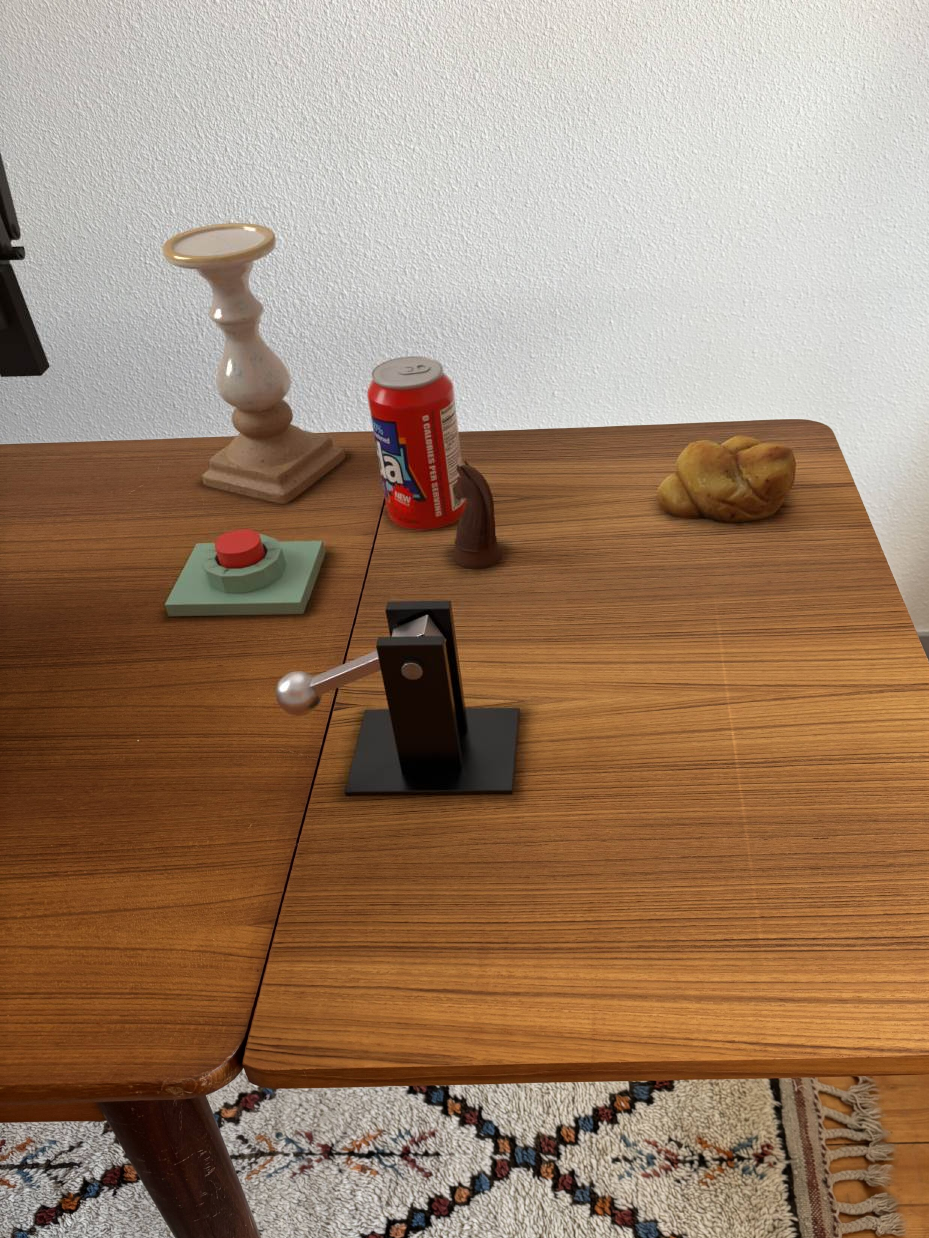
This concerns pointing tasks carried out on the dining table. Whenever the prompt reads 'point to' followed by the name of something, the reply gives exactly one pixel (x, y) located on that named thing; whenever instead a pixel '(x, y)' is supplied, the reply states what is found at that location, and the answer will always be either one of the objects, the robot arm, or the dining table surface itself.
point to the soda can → (416, 441)
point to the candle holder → (250, 372)
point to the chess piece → (475, 521)
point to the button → (239, 549)
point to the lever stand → (430, 720)
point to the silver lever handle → (339, 673)
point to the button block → (248, 581)
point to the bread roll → (729, 480)
